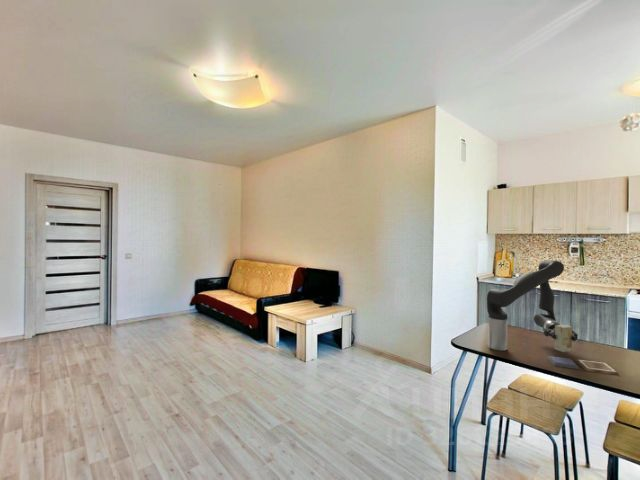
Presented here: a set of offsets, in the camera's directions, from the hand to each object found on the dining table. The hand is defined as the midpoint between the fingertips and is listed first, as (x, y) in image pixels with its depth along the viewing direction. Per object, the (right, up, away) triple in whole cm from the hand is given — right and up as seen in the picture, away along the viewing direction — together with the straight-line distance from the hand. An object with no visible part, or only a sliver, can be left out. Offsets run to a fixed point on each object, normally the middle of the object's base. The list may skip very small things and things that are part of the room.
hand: (564, 338), depth 154 cm
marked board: (+13, -13, -3) cm, 19 cm away
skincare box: (+1, -7, +2) cm, 7 cm away
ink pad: (0, -13, +2) cm, 14 cm away
